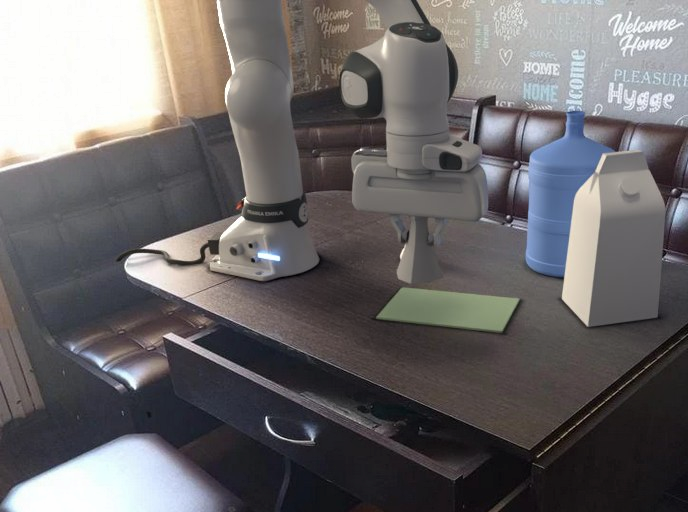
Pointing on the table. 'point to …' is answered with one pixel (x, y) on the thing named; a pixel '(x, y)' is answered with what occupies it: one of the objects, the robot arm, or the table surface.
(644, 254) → the milk
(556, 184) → the water jug
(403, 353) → the table surface
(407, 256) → the flask
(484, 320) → the placemat
